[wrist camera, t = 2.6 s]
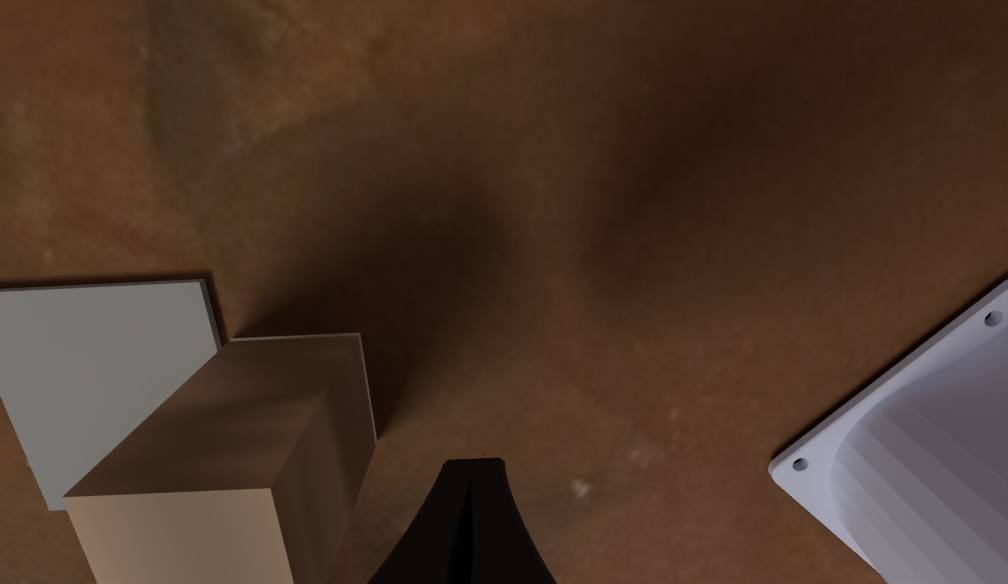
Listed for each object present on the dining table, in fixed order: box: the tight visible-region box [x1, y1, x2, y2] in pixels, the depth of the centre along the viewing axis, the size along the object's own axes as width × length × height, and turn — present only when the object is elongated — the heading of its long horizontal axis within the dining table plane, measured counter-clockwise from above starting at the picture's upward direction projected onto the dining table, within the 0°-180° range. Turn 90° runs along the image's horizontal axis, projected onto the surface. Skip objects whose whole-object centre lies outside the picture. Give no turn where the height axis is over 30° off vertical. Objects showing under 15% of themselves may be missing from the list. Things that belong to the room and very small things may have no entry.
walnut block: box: [62, 333, 377, 584], centre depth 14 cm, size 4×4×7 cm
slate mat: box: [0, 279, 222, 511], centre depth 18 cm, size 7×8×1 cm
